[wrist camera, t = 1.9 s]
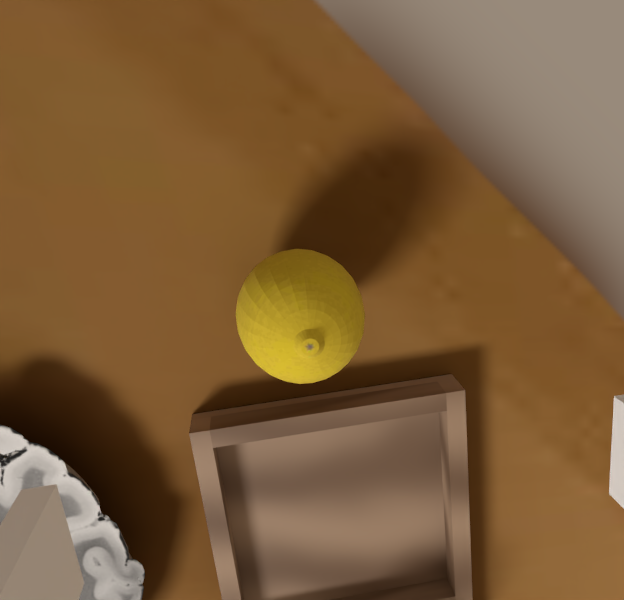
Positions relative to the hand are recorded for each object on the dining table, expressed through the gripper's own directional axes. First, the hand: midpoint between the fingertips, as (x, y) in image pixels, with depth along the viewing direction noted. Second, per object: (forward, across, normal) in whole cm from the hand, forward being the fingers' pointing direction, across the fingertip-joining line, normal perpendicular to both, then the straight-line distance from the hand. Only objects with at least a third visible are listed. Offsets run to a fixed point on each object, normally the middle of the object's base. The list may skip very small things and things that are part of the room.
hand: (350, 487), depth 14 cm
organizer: (+16, +1, -17) cm, 24 cm away
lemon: (+17, 0, 0) cm, 17 cm away
